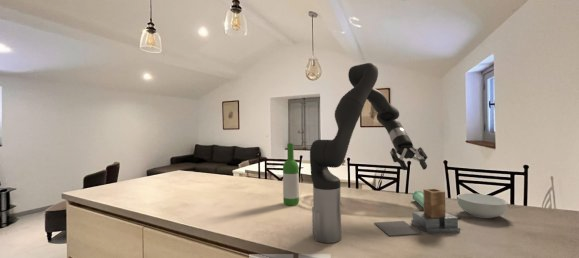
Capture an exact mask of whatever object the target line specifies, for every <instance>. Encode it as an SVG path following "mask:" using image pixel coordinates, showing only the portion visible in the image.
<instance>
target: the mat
mask: <svg viewBox="0 0 579 258" xmlns="http://www.w3.org/2000/svg"><path fill="white" fill-rule="evenodd" d="M374 225H375V226H376V225H377V226H376V227H378V228H379V230H381V231H382V230H383V232H384V234H386V235H387V236H388V237H399V236H401V235H404V236H417V235H418V236H419V234H421V235H423V232H421V230H418V228H417V229H416V228H415V226H412V225H411V224H410V223H407V222H406V221H404V220H399V221H398V220H397V221H396V220H395V221H380V222H379V221H377V222H374Z"/></svg>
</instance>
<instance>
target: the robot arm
mask: <svg viewBox="0 0 579 258" xmlns="http://www.w3.org/2000/svg"><path fill="white" fill-rule="evenodd" d="M347 74H348V81H349V82H350V84H351V86H352V87H353V88H351V89H350V90H348V91H347V92H346V93H345V94H344V95H343V96H341V98H340V99H339V101H338V103H337V105H336V107H335V109H334V119H335V122H336V126H337V131H336V135H335V136H334V138H333V139H315V140H314V141H312V143H311V145H310V150H309V163H310V165H309V166H310V178H311V180H312V186H313V187H312V192H313V193H312V194H313V197H312V202H313V207H311V211H312V212H311V218H312V219H311V220H312V221H311V222H312V236H313V238H314V240H315V242H321V243H325V244H326V243H328V244H331V243H337V242H339V241H341V239H342V199H341V197H342V195H341V193H342V192H341V189H342V188H341V180H340V177H338V176H336V175H334V174H333V173H332V172H331V170H329V169H328V168H334V169H335V168H339V167H341V166H342V165H343V163H344V161H345V158H346V157H347V156H346V155H347V152H348V149H349V146H350V142H351V139H352V136H353V133H354V130H355V128H356V126H357V123H358V121H359V119H360V116H361V114H362V112H363V109H364V106H365V104H366V101H368V102H369V103H370V105H371V106H372V108H373V109H374V110H375V112H377V114H376V120H377V121H378V123H379V124H380V125H381V126H382V127H384V128H385V130H386V132H387V133H388V135H389V139H390V141H391V144H392V146H393V147H392V148H391V150H390V151H389V153H390V156H391V158H392V161H393V163H398V164H399V166H400V167H401V169H402V170H403V171H406V170H407V169H408V166H407V164H406V162H405V160H407V159H410V160H411V159H413V160H414V161H417V162H418V163H419V165H420V166H421V168H422V170H426V169H427V168H428V164H427V162H426V160H427V159H428V156H427V153H425V151H424V149H423V148H422V147H421V146H420V147H418V148H415V147H414V145H413V142H412V140H411V137H409V135H408V133H407V132H406V130H405V129H404V127H403V125H402V123H401V122H400V120H398V118H399V117H400V112H399V110H398V108H396V106H394V105H392V104H391V103H390V102H389V101H388V99H387V97H386V96H385V94H384V93H382V92H381V91H380V90H378V89H376V88H374V87H375V85H376V83H377V81H378V77H379V69H378V67H377V65H376V64H375V63H372V62H365V63H362V64H361V63H360V64H357V65H353V66H351V67H350V68H349V70H348V73H347ZM398 155H399V157H398ZM404 159H405V160H404Z"/></svg>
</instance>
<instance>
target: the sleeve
mask: <svg viewBox="0 0 579 258" xmlns="http://www.w3.org/2000/svg"><path fill="white" fill-rule="evenodd" d="M422 193H423V196H424V208H423V212H424V213H425V214H427V215H429V216H430V217H432V218H433V217H446V216H445V212H446V191H443V190H441V189H439V188H423V192H422Z"/></svg>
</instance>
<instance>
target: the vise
mask: <svg viewBox="0 0 579 258" xmlns="http://www.w3.org/2000/svg"><path fill="white" fill-rule="evenodd" d="M445 216H446V217H433V218H432V217H430V216H429V215H427V214H425V213H424V211H413V212H412V219H411V220H410V221H411V222H410V223H411V224H412V225H413V226H414V225H415V226H414V227H416V228H417V229H420V231H423V232H424V233H426V234H427V235H434V234H451V233H452V234H453V233H461V228H460V226H459V223H458V222H459V221H461V220H462V218H461V216H455V215H453V214H451V213H448V212H446V211H445ZM411 224H410V225H411Z"/></svg>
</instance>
